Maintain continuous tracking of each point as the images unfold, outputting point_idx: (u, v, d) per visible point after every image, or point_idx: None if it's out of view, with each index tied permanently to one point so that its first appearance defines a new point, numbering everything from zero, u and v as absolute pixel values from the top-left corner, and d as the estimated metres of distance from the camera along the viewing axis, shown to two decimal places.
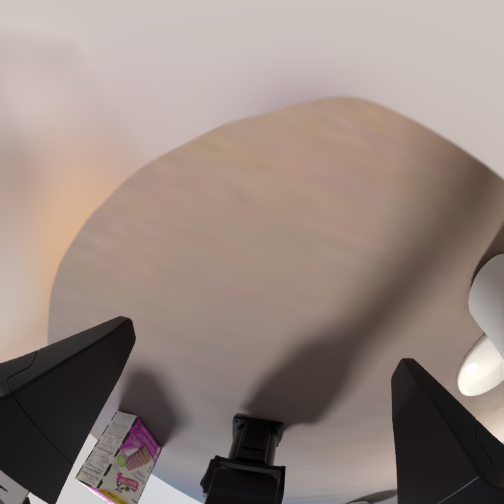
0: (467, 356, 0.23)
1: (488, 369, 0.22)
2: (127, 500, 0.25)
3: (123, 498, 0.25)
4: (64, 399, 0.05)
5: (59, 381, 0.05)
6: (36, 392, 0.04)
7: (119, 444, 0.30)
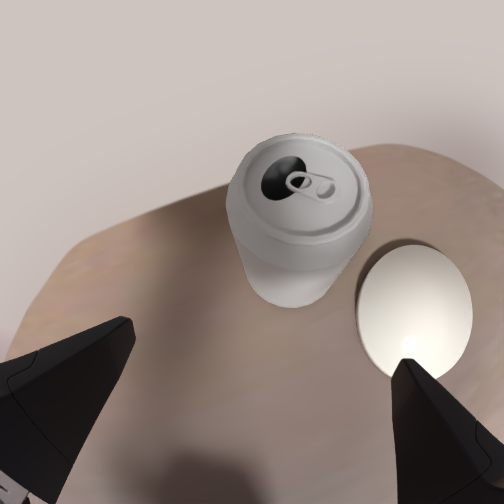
0: (363, 347, 0.20)
1: (422, 328, 0.19)
2: None
3: None
4: (64, 399, 0.05)
5: (59, 381, 0.05)
6: (36, 392, 0.04)
7: None
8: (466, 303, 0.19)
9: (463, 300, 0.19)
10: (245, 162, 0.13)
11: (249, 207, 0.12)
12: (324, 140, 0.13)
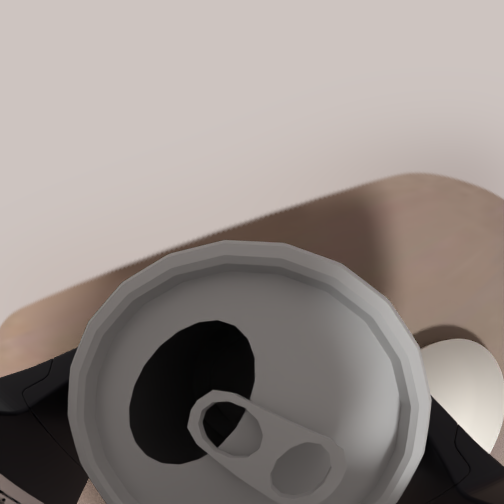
0: None
1: None
2: None
3: None
4: None
5: None
6: (54, 404, 0.04)
7: None
8: (499, 404, 0.10)
9: (496, 401, 0.11)
10: (84, 351, 0.04)
11: (100, 482, 0.03)
12: (320, 269, 0.04)
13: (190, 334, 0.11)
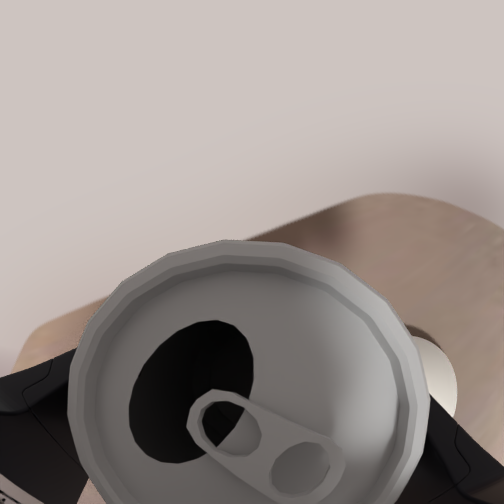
0: None
1: None
2: None
3: None
4: None
5: None
6: (54, 404, 0.04)
7: None
8: (450, 391, 0.16)
9: (447, 388, 0.16)
10: (84, 351, 0.04)
11: (100, 481, 0.03)
12: (319, 269, 0.04)
13: (189, 333, 0.11)
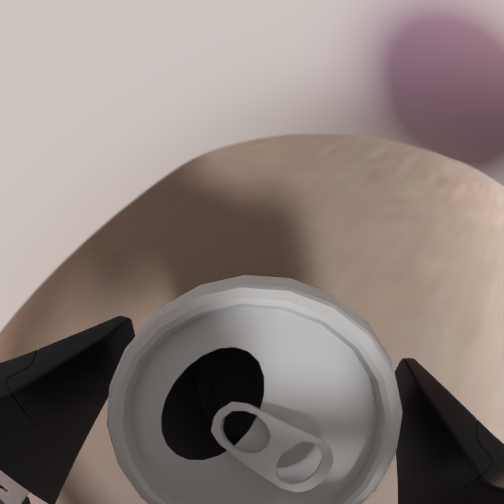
0: None
1: None
2: None
3: None
4: (64, 399, 0.05)
5: (59, 381, 0.05)
6: (36, 392, 0.04)
7: None
8: None
9: None
10: (123, 373, 0.05)
11: (137, 478, 0.04)
12: (317, 310, 0.05)
13: None
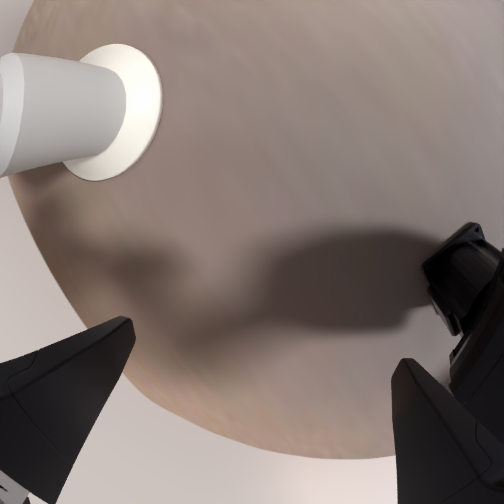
0: (132, 165, 0.20)
1: None
2: None
3: None
4: (64, 399, 0.05)
5: (59, 381, 0.05)
6: (36, 392, 0.04)
7: None
8: (90, 59, 0.16)
9: (87, 63, 0.16)
10: None
11: None
12: None
13: None
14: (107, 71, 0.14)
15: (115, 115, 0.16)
